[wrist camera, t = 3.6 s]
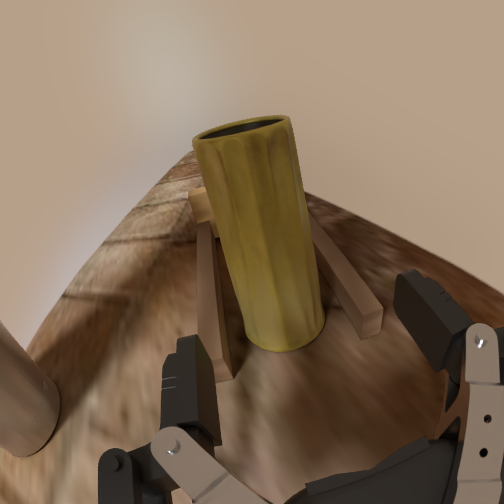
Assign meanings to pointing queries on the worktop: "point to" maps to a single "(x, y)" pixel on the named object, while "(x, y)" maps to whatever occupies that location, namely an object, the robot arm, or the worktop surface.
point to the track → (210, 296)
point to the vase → (264, 228)
